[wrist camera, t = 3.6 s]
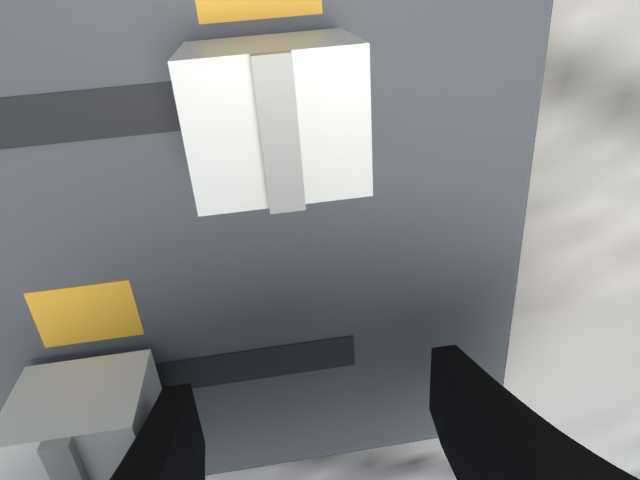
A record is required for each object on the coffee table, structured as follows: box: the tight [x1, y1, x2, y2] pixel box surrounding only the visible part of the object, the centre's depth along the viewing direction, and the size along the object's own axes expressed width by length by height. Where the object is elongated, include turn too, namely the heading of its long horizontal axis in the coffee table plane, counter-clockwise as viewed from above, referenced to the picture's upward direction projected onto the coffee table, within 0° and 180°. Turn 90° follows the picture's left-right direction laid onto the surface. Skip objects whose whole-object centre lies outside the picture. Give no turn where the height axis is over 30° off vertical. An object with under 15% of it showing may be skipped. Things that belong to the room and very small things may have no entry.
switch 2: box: [167, 28, 373, 217], centre depth 9 cm, size 2×3×3 cm
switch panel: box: [0, 0, 553, 476], centre depth 11 cm, size 22×18×2 cm
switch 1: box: [0, 349, 162, 480], centre depth 12 cm, size 2×3×3 cm
